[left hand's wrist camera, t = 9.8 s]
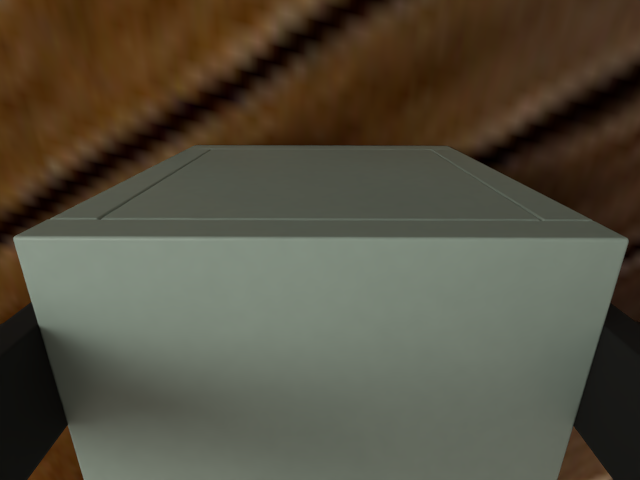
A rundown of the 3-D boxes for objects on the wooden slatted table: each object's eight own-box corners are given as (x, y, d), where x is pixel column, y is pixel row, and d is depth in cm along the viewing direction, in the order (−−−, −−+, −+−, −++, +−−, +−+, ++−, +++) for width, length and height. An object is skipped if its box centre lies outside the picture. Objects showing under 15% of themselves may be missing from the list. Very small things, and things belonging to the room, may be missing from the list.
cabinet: (411, 462, 26) (478, 744, 15) (228, 461, 26) (160, 742, 15) (448, 145, 19) (631, 238, 8) (193, 144, 19) (10, 236, 8)
